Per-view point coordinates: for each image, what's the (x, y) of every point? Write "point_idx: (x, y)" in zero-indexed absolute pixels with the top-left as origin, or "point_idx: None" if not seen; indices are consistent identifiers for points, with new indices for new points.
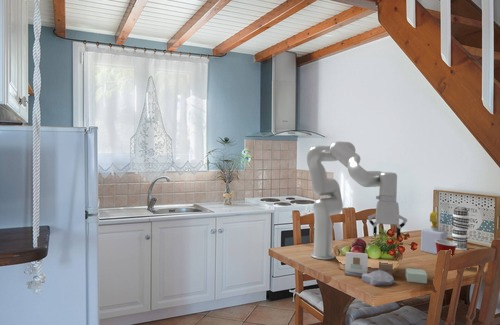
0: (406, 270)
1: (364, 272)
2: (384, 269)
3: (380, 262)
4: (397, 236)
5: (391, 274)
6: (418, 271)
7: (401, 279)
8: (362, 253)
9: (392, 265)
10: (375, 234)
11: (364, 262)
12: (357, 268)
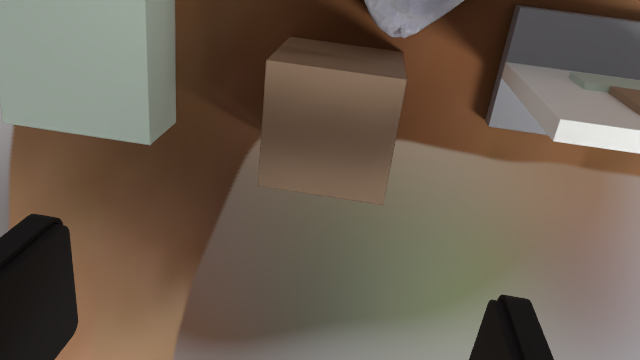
0: (151, 95)
1: (533, 66)
2: (351, 60)
3: (377, 141)
4: (49, 226)
5: (292, 42)
6: (50, 63)
7: (218, 19)
8: (625, 148)
9: (269, 60)
10: (522, 309)
11: (566, 93)
12: (614, 78)
